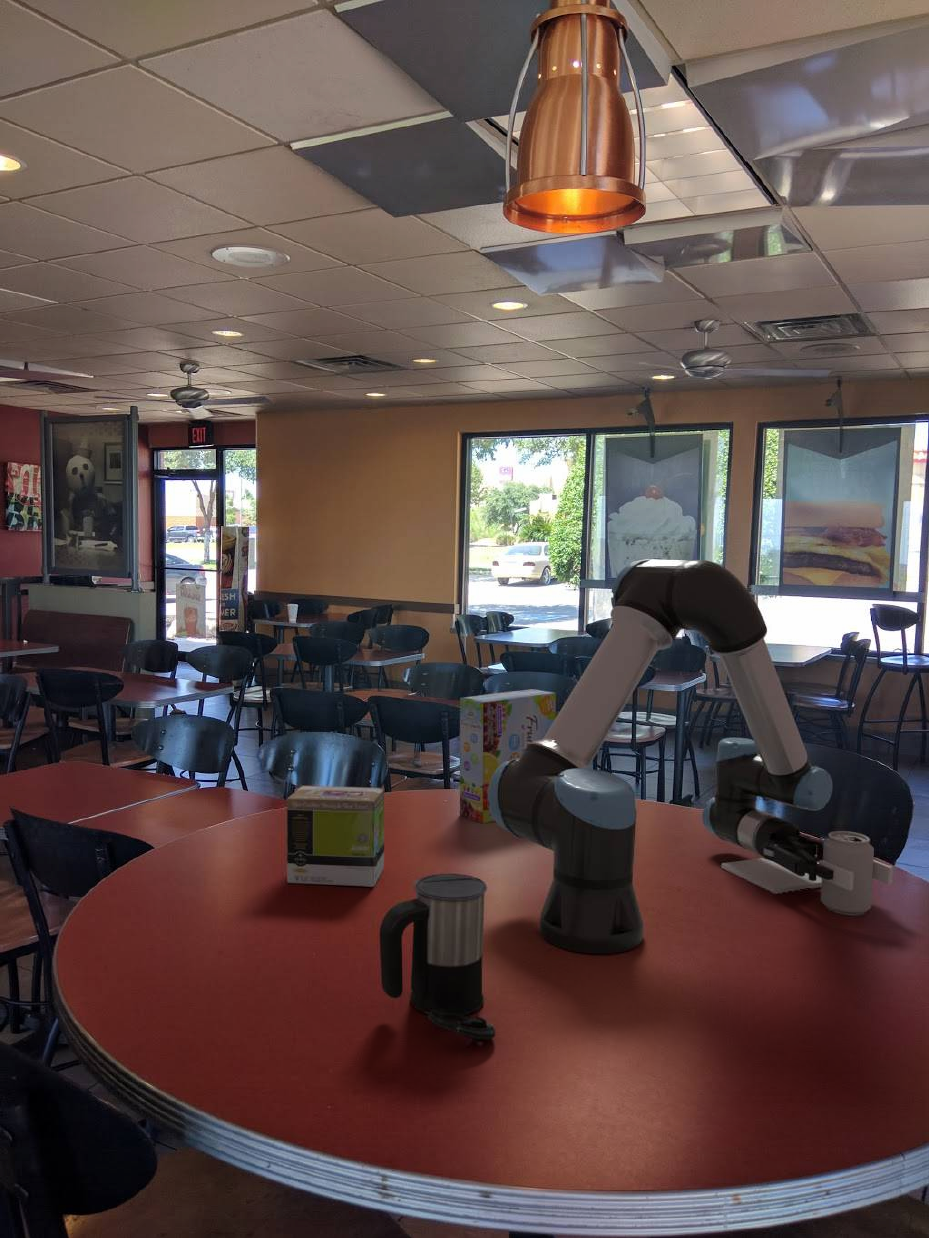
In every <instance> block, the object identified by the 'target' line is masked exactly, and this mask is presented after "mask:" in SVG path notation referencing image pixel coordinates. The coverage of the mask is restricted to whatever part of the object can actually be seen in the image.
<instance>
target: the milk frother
mask: <svg viewBox="0 0 929 1238" xmlns="http://www.w3.org/2000/svg"><path fill="white" fill-rule="evenodd" d="M413 889H414V890H415V891H416V896H415V897H416V898H414V899H409V900H405V901H401V902H399V903H397V904H394V905H393V906H392V907H391V908H390V909H388V911H387V912H386V913H385V915H384V917H383V918H382V921H381V923H380V927H379V951H380V954H379V955H380V958H379V959H380V975H381V977H380V978H381V988H382V990H383V992H384V993H385V994H386V995H388V997H390V998H392V999H397V998H398V999H399V998H400V997H401V996H402V994H403V991H404V990H403V943H402V941H403V940H402V939H403V934H404V932H405V929H406V928H407V927H408V926H409V925H411V924H412V923H413V930H412V950H411V951H412V953H411V955H412V956H411V973H410V974H411V975H410V989H411V992H410V994H409V998H410V1003H411V1004H412V1006H413V1007H414V1008H415V1009H417V1011H420V1012H422V1013H424V1014H427V1018H428V1019H429V1021H431V1022H432V1024H434V1025H436V1026H437V1027H440V1028H442V1029H445V1030H448V1031H450V1032H453V1033H455V1034H459V1035H460V1036H461V1035H462V1036H463V1037H466V1038H469V1039H471V1040H473V1041H475V1042H477V1043H479V1044H481V1043H483V1040H491V1039H494V1038H495V1037H496V1029H495V1027H494V1023H490V1024H489V1023H488V1022H487V1019H485V1018H483V1017H481V1016H478V1015H477V1016H476V1017H473V1016H469V1015H470V1014H473V1013H475V1012H476V1011H478V1010H479V1009H480V1008H481V1007H482V1006H483V1005H484V1002H485V1000H484V999H485V998H484V995H483V945H484V921H485V920H484V919H485V918H484V916H485V914H484V913H485V893H486V892H487V890H488V885H487V883H485V881H484V880H482V879H480V878H477V877H474V876H472V875H471V876H470V875H468V874H459V873H437V874H429V875H425V876H424V877H421V878H418V879H417V880H416V881H415V882H414V884H413Z"/></svg>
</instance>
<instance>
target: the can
mask: <svg viewBox="0 0 929 1238" xmlns="http://www.w3.org/2000/svg"><path fill="white" fill-rule="evenodd" d="M827 838H828V839H827V840H825V841H824V845H823V860H824V861H826V862H829V863H831V864H834V865H836V866H838V867H841V868H843V869H846V870H848V871H851V872H853V873H854V880H853V890H850V891H849V890H847V889H845V888H842V887H840V886H838V885H835V884H833V883H831V882H829V881H826V880H824V879H822V885H821V887H820V902H821V903H822V904H823V905H824V906H825V907H826V909H828V910H829V911H832V912H834V913H836V914H840V915H845V916H861V915H864V914H865V913H866V912H867V911H869V910H870V909H871V907H872V893H873V892H872V890H873V878H872V876H873V860H874V854H875V853H874V852H875V848H874V847H873V846H872V845H871V844H870V841H871V839H870V837H869V836H867V835H865V834H862V833H858V832H854V831H846V830H836V831H830V832H829V833H828V834H827Z"/></svg>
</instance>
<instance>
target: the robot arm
mask: <svg viewBox="0 0 929 1238" xmlns="http://www.w3.org/2000/svg"><path fill="white" fill-rule="evenodd" d="M748 590H749V589H748V588H746V586H745V585H744V584H743V583H742V582H741V581H740V579H739V578H738V577H736V576H735V575H734V574H733V572H731V571H730V570H729V569H727V568H725V567H724V566H722V565H721V564H718V563H717V562H714V561H710V560H705V559H689V560H688V559H664V558H657V557H652V558H646V559H639V560H635V561H633V562H631V563H628V564H627V565H625V566H624V567H623V568H622V570H620V572H619V573H618V574H617V576H616V577H615V579H614V582H613V585H612V587H611V591H610V592H611V593H612V597H610V600H611V601H610V602H611V608H612V609H611V610H610V613H609V614H610V618H611V621H612V626H611V628H610V629H609V631H608V633H607V634H606V636H605V637H604V639H603V640H602V642H601V644H600V645H599V647H598V648H597V651H596V652H595V654H594V655H593V657H592V658H591V660H590V662H589V663H588V665H587V667H586V668H585V669H584V671H583V673H582V675H581V676H580V678H579V680H578V681H577V683H576V685H575V686H574V687H573V689H572V691H571V693H570V694H569V696H568V698H567V699H566V701H565V702H564V704H563V706H562V707H561V709H560V711H559V712H558V714H557V715H556V719H555V720H554V722H553V723H552V725H551V727H550V728H549V730H548V732H547V733H546V735H545V736H544V738H543V739H542V740H538V741H534V742H530V743H529V745H528V746H527V748H526V749H525V751H524V752H523V754H522V756H521V757H520V758H519V759H511V760H510V761H506V762H504V763H502V764H501V765H500V766H499V767H498V768H497V769H496V771H495V772H494V774H493V776H492V778H491V781H490V784H489V788H488V801H489V809H490V812H491V814H492V816H493V818H494V820H495V822H496V824H498V826H499V827H500V828H502V830H503V829H504V830H505V831H507V832H509V833H510V834H512V836H514V837H516V838H520V839H525V840H527V841H530V842H532V843H534V844H537V845H539V846H542V847H543V848H546V849H548V850H550V851H553V870H552V871H553V873H552V881H551V884H550V887H549V890H548V892H547V895H546V898H545V901H544V904H543V906H542V909H541V913H540V916H539V933H540V935H541V936H542V938H544V939H545V940H546V941H547V942H549V943H550V944H552V945H554V946H556V947H559V948H561V949H565V950H567V951H572V952H575V953H576V952H577V953H583V954H590V955H591V954H592V955H593V954H594V955H607V954H608V955H609V954H618V953H623V952H627V951H630V950H632V949H634V948H636V947H638V946H640V944H641V943H642V941H643V939H644V919H643V918H642V914H641V910H640V906H639V902H638V899H637V896H636V892H635V889H634V881H633V878H634V864H635V863H634V860H635V859H634V857H635V843H636V842H635V841H636V839H635V838H636V827H637V826H636V824H637V809H636V794H635V790H634V788H633V787H632V785H631V784H630V783H629V782H628V781H627V780H625V778H622V777H620V776H618V775H616V774H613V773H611V772H608V771H605V770H596V769H593V768H590V765H591V764H592V762H593V760H594V759H595V757H596V755H597V754H598V752H599V751H600V749H601V747H602V745H603V744H604V742H605V740H606V739H607V737H608V735H609V733H610V732H611V730H612V728H613V727H614V726H615V725H614V724H615V723H616V722H617V720H618V718H619V716H620V715H621V713H622V712H623V710H624V708H625V706H626V704H627V702H628V701H629V699H630V697H631V696H632V694H633V693H634V691H635V689H636V688H637V686H638V684H639V683H640V681H641V679H642V677H643V675H645V672H646V670H647V669H648V667H649V666H650V663H651V662H652V661H653V659H654V657H655V655H656V653H657V652H658V651H661V650H666V649H670V648H671V646H672V645H673V643H674V641H675V640H676V638H677V636H678V635H679V633H680V632H681V630H684V631H685V630H686V631H695V632H698V633H699V634H701V635H702V636H703V637H704V638H705V640H706V642H707V645H708V647H709V649H710V650H711V652H712V653H715V654H717V655H719V657H720V660H721V662H722V665H723V667H724V669H725V670H724V671H725V672H726V675H727V677H728V679H729V682H730V685H731V687H732V689H733V693H734V695H735V697H736V699H737V702H738V705H739V707H740V710H741V712H742V714H743V717H744V719H745V722H746V724H747V725H746V726H747V727H748V729H749V732H750V735H751V737H752V739H751V738H745V737H726V738H725V737H724V738H722V739H721V740H720V741H719V742H718V745H717V753H716V759H715V764H716V765H715V792H714V794H715V795H714V797H711V798H710V799H709V800H708V801H706V803H705V806H704V809H703V810H702V812H701V814H702V815H701V819H702V823H703V826H704V828H705V829H706V830H707V831H708V832H709V833H711V834H712V835H714V836H715V837H718V839H720V840H722V841H725V842H728V843H731V844H733V845H735V846H738V847H740V848H743V849H744V850H747V851H750V852H752V853H754V855H755V856H756V857H762V858H764V859H767V860H770V861H773V862H775V863H777V864H779V865H780V866H782V867H784V868H786V869H788V870H789V871H791V872H793V873H795V874H796V875H798V876H805V873H807V874H808V875H809V880H811V881H816V877H817V876H818V877H819V878H822V879H824V880H826V881H829V882H831V883H833V884H835V885H838V886H840V887H842V888H845V889H847V890H849V891H850V890H853V880H854V873H853V872H851V871H848V870H846V869H843V868H841V867H838V866H836V865H834V864H831V863H829V862H826V861H824V860H823V845H824V841H825V840H827V839H828V838H829V837H828V836H825V835H823V836H820V838H819V839H816V838H812V837H810V836H808V835H805V834H801V832H800V830H799V827H798V826H797V825H795V823H794V822H791V821H788V820H786V819H783V818H781V817H777V816H776V815H774V814H771V813H768V812H766V811H762V810H760V809H757V801H758V798H763V799H766V800H770V801H774V802H776V803H780V804H784V805H787V806H789V807H793V808H795V809H803V810H808V811H819V810H821V809H823V808H825V806H826V805H827V803H829V801H830V799H831V796H832V794H833V779H832V776H831V775H830V773H829V772H828V771H827V770H825V769H823V768H821V767H819V766H817V765H814V766H813V765H812V763H811V760H810V759H809V756H808V754H807V751H806V748H805V745H804V742H803V740H802V737H801V734H800V731H799V729H798V726H797V724H796V721H795V719H794V716H793V713H792V710H791V708H790V705H789V702H788V700H787V696H786V695H785V694H786V693H785V692H784V689H783V686H782V683H781V681H780V678H779V675H778V673H777V669H776V667H775V665H774V662H773V660H772V659H773V658H772V657H771V654H770V651H769V649H768V646H767V644H766V640H765V638H766V636H767V633H768V628H767V627H768V626H767V625H766V622H765V619H764V617H763V615H762V612H761V609H760V608H759V605H758V604H757V602H756V601H755V599H754V598H753V596H752V594H751V592H749V591H748ZM817 862H819V864H817ZM893 872H894V866H891V865H888V864H885V863H884V862H880V861H878V860H876V859H873V876H872V879H874V880H877V881H879V882H881V883H884V884H886V885H893Z"/></svg>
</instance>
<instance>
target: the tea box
mask: <svg viewBox="0 0 929 1238" xmlns="http://www.w3.org/2000/svg"><path fill="white" fill-rule="evenodd" d="M384 866H385V788H383V787H362V786H361V787H360V786H359V787H358V786H332V785H330V786H329V785H324V786H323V785H301V786H300V787H299V788H298V789H296V791H294V792H293V793H292V794H291V795H290V796H289V797H287V798H286V878H287V880H286V882H287V883H289V884H306V885H308V884H309V885H324V886H325V885H329V886H350V887H351V886H352V887H367V888H368V887H370V888H373V887H375V885H376V884H377V882H378V880H379V878H380V876H381V874H383V871H384Z"/></svg>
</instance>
